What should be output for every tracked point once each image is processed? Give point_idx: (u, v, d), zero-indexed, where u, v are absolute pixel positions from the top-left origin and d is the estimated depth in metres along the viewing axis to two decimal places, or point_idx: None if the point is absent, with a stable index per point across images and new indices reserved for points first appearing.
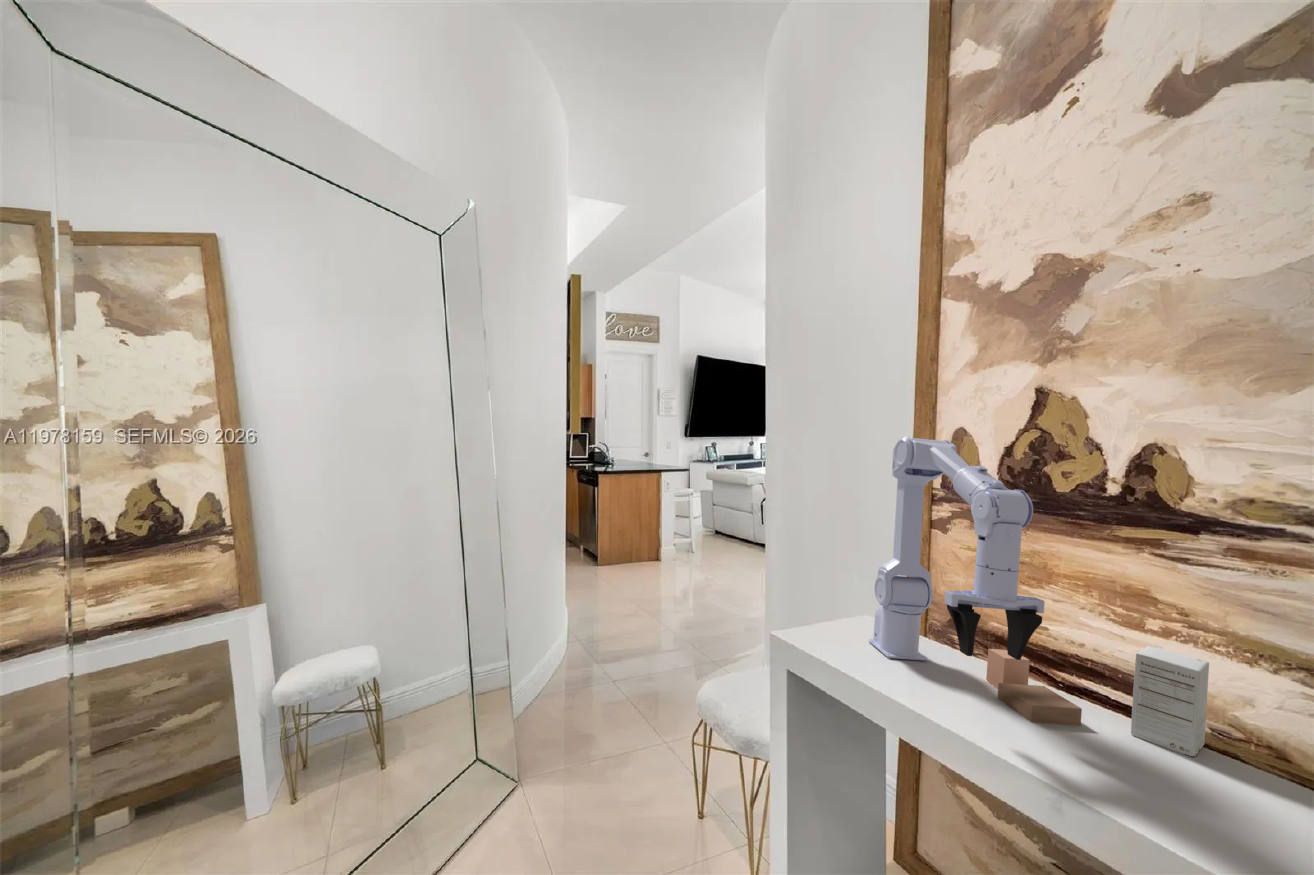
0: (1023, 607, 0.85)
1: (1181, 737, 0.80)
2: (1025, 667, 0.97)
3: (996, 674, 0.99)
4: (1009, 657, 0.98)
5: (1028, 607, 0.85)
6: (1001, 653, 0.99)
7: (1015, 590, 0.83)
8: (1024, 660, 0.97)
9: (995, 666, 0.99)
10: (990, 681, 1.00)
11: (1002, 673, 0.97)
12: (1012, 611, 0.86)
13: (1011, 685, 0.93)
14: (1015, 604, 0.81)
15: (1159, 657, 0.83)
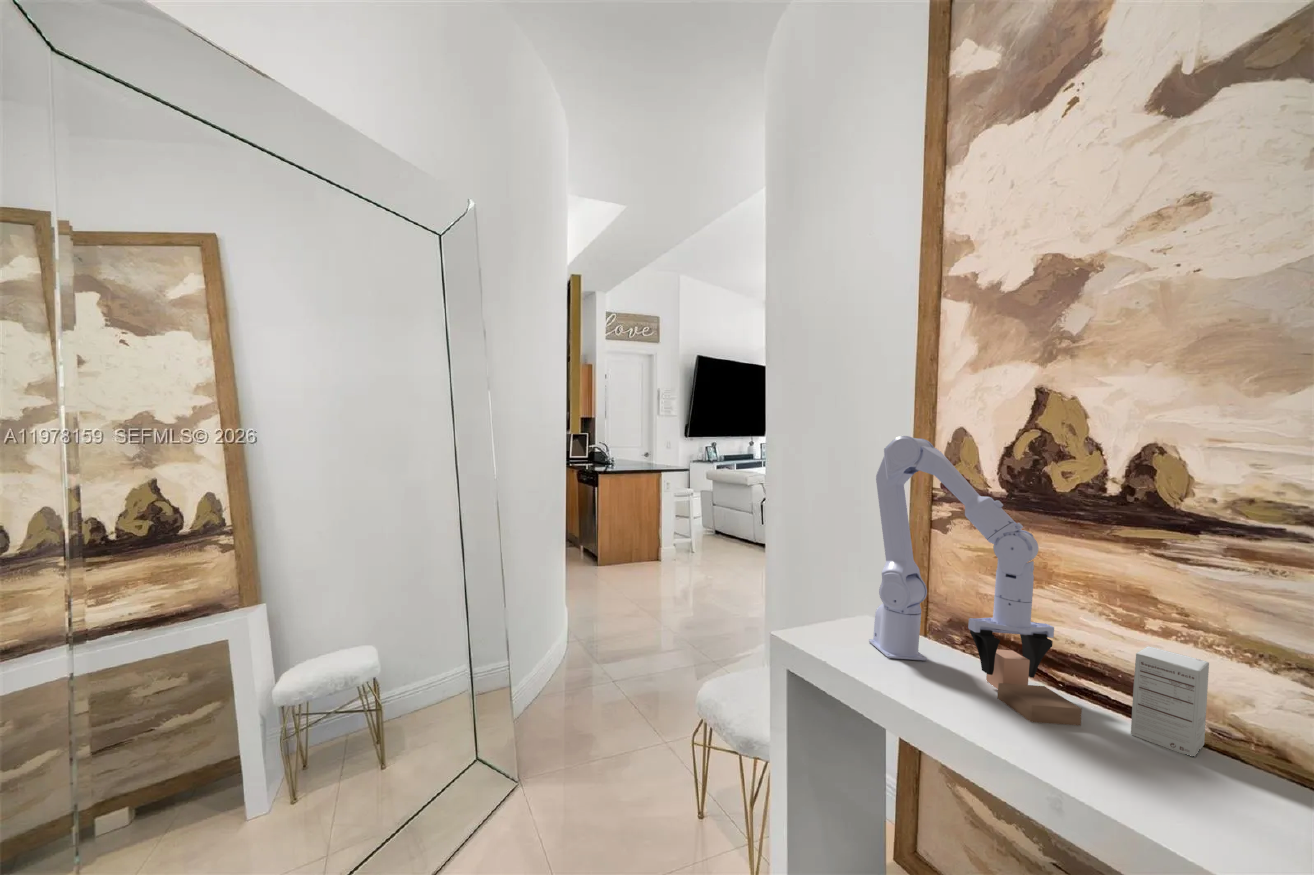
0: (1036, 632, 0.99)
1: (1181, 737, 0.80)
2: (1025, 667, 0.97)
3: (996, 674, 0.99)
4: (1009, 657, 0.98)
5: (1040, 632, 0.99)
6: (1001, 653, 0.99)
7: (1029, 618, 0.97)
8: (1024, 660, 0.97)
9: (995, 666, 0.99)
10: (990, 681, 1.00)
11: (1002, 673, 0.97)
12: (1026, 635, 1.00)
13: (1011, 685, 0.93)
14: (1029, 631, 0.95)
15: (1159, 657, 0.83)
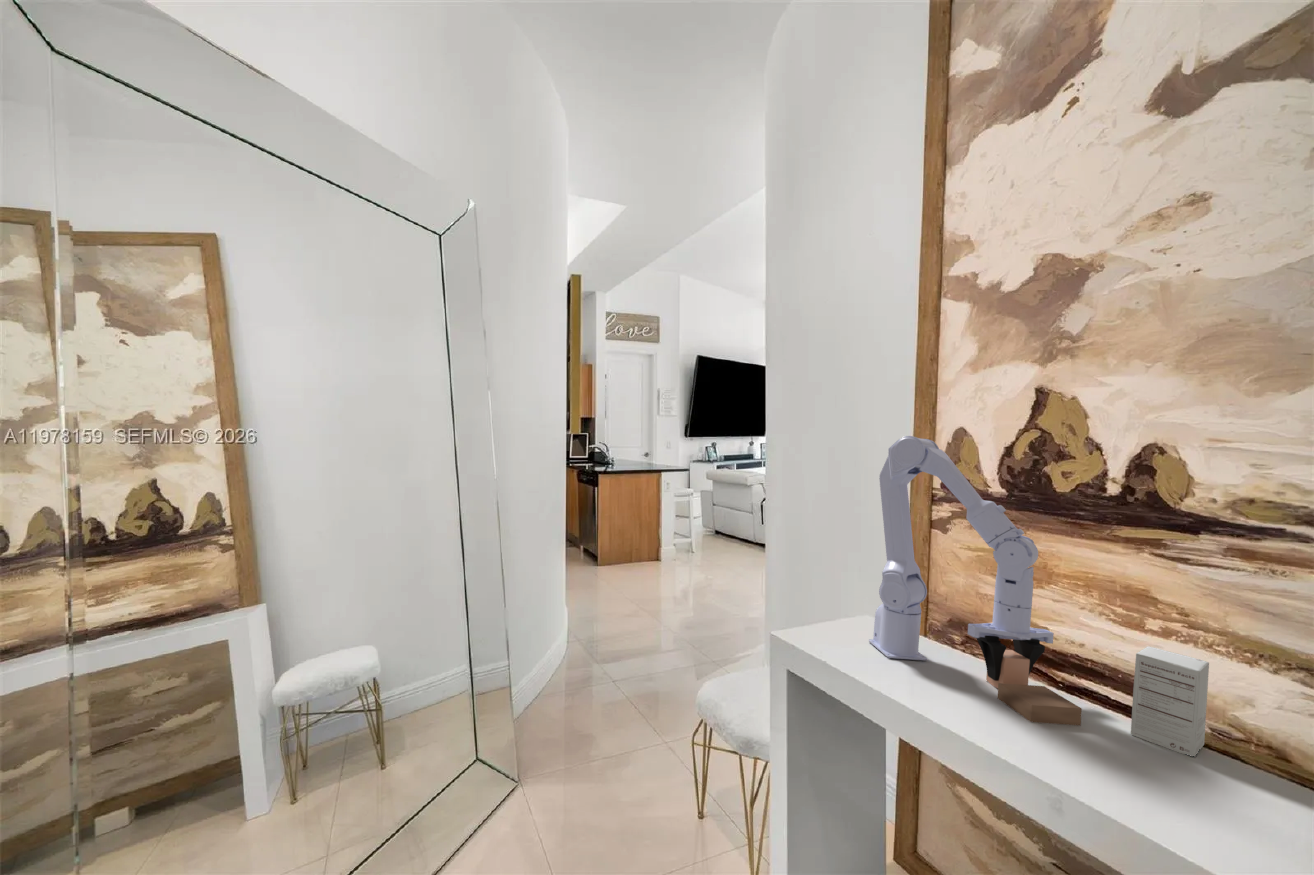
0: (1035, 638, 0.99)
1: (1181, 737, 0.80)
2: (1025, 667, 0.97)
3: None
4: (1009, 657, 0.98)
5: (1039, 638, 0.99)
6: None
7: (1028, 624, 0.97)
8: (1024, 660, 0.97)
9: None
10: (990, 681, 1.00)
11: (1002, 673, 0.97)
12: (1019, 640, 1.00)
13: (1011, 685, 0.93)
14: (1029, 637, 0.95)
15: (1159, 657, 0.83)
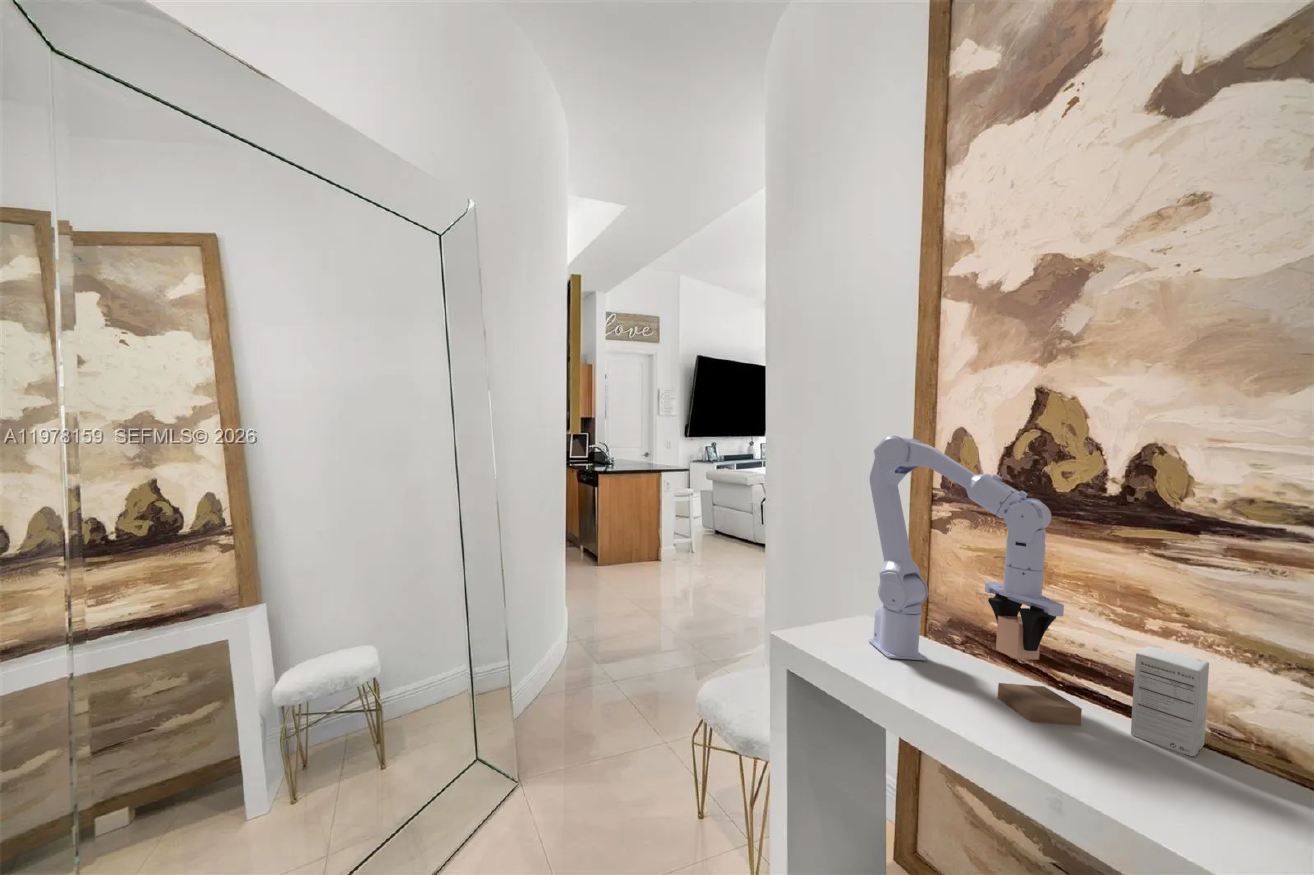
0: (1042, 608, 0.93)
1: (1181, 737, 0.80)
2: (1015, 630, 0.95)
3: None
4: (1006, 618, 0.98)
5: (1046, 609, 0.92)
6: (1014, 617, 0.98)
7: (1018, 585, 0.95)
8: (1014, 623, 0.96)
9: None
10: None
11: None
12: None
13: (1011, 685, 0.93)
14: (1004, 593, 0.96)
15: (1159, 657, 0.83)
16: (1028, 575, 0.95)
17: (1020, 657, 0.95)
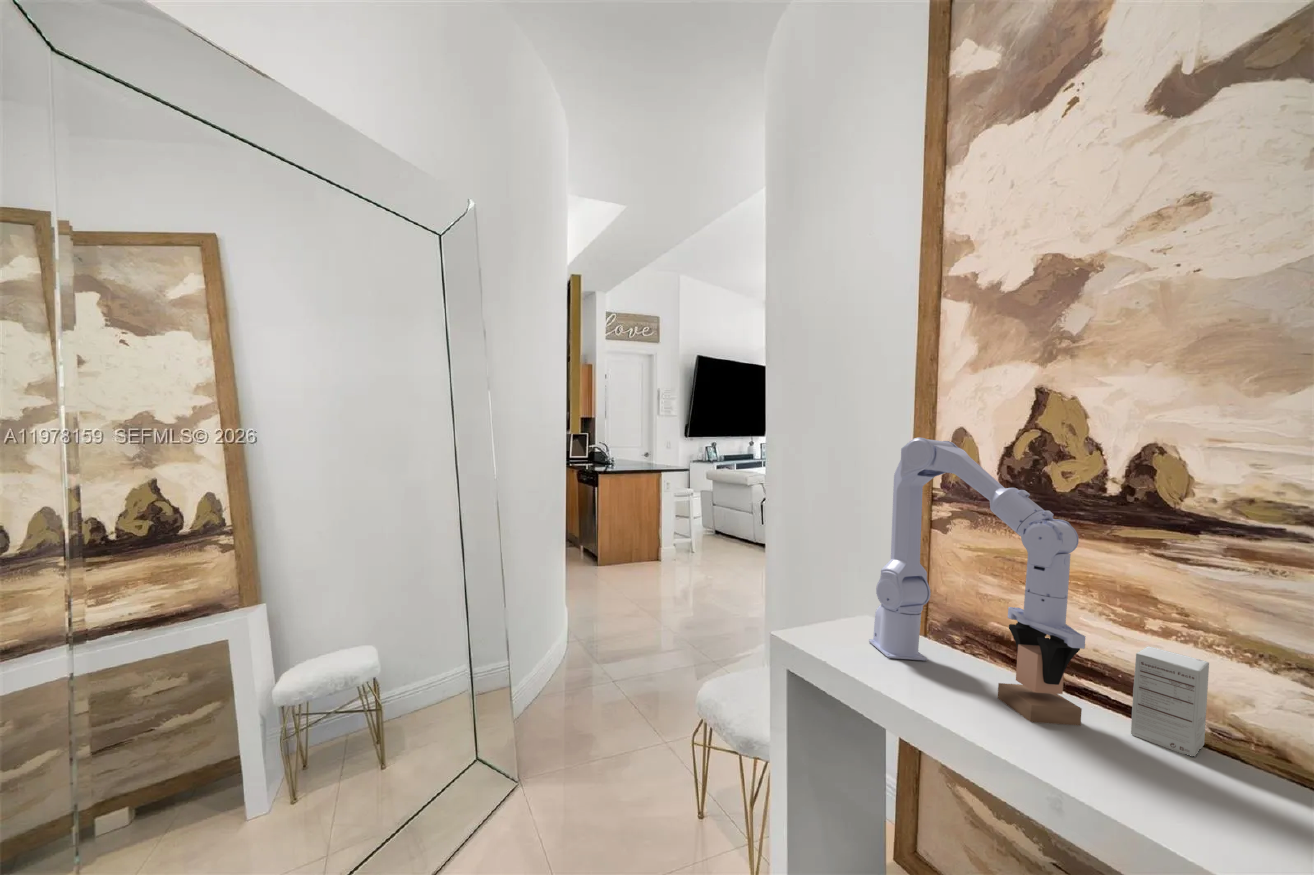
0: (1062, 638, 0.86)
1: (1181, 737, 0.80)
2: (1033, 661, 0.89)
3: None
4: (1026, 647, 0.91)
5: (1066, 639, 0.85)
6: (1036, 647, 0.92)
7: (1037, 612, 0.89)
8: (1033, 653, 0.89)
9: None
10: None
11: None
12: None
13: (1011, 685, 0.93)
14: (1022, 620, 0.90)
15: (1159, 657, 0.83)
16: (1048, 602, 0.88)
17: (1039, 690, 0.88)
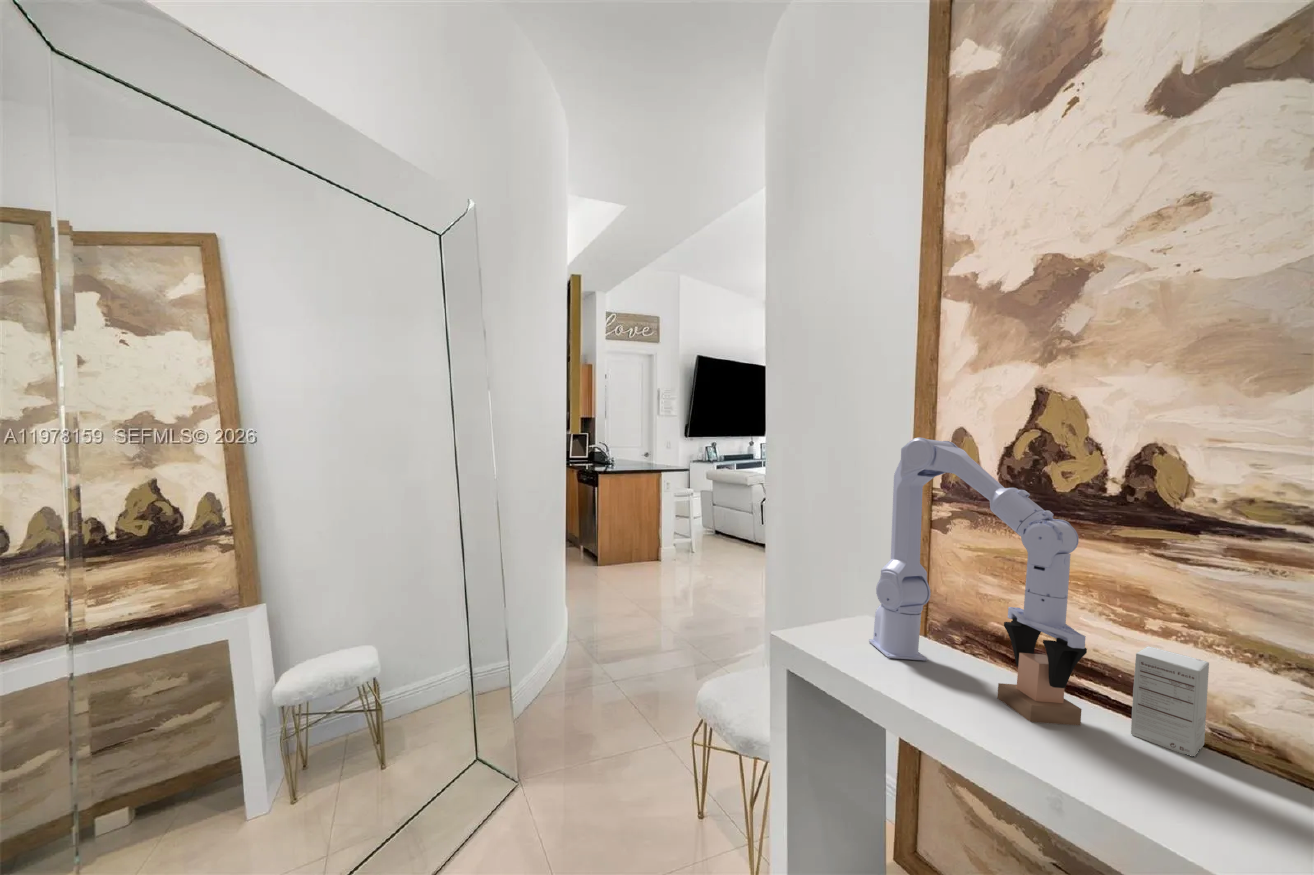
0: (1062, 638, 0.86)
1: (1181, 737, 0.80)
2: (1035, 670, 0.89)
3: None
4: (1027, 655, 0.91)
5: (1066, 639, 0.85)
6: (1037, 656, 0.91)
7: (1037, 612, 0.89)
8: (1034, 662, 0.89)
9: None
10: None
11: None
12: None
13: (1011, 685, 0.93)
14: (1022, 620, 0.90)
15: (1159, 657, 0.83)
16: (1048, 602, 0.88)
17: (1040, 699, 0.88)
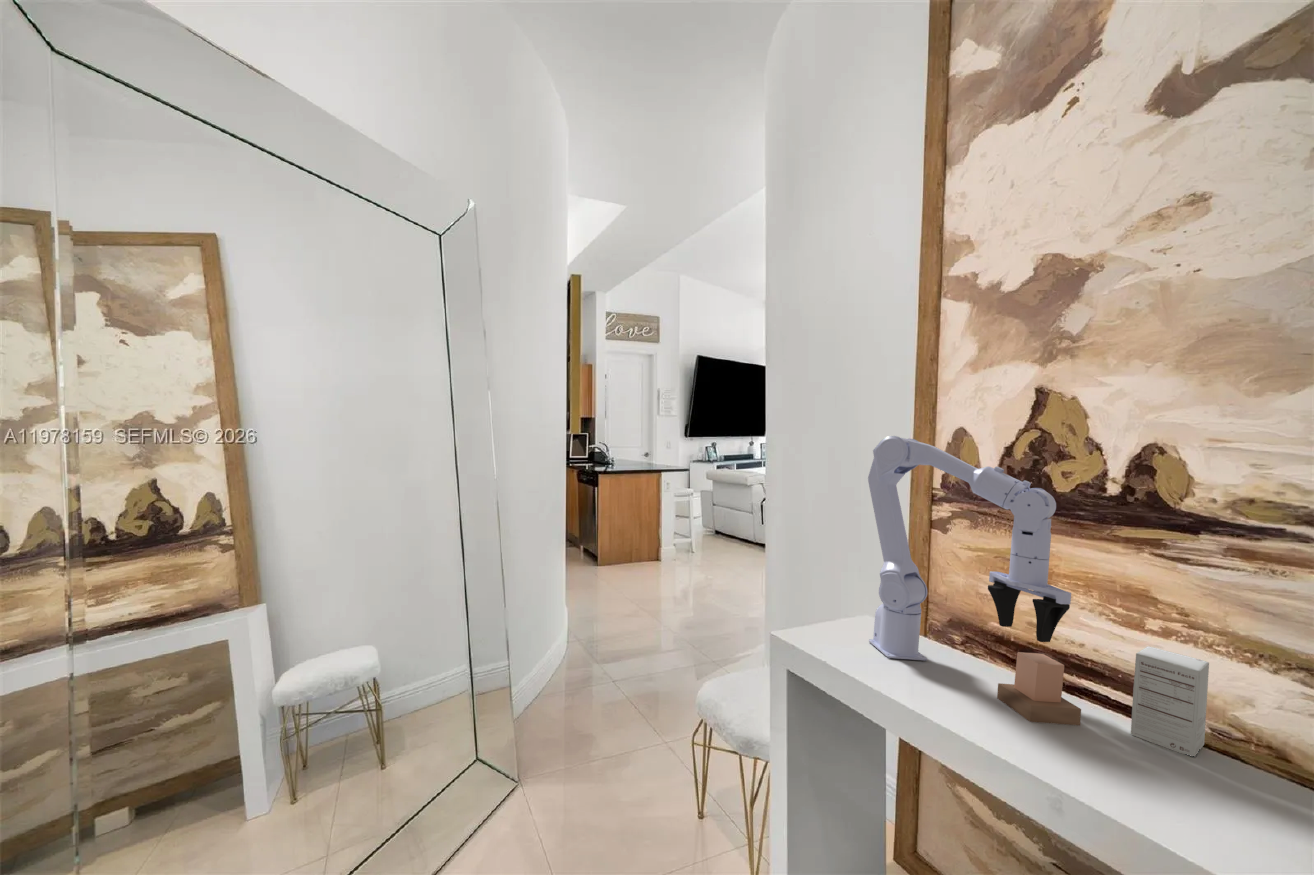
0: (1049, 596, 0.93)
1: (1181, 737, 0.80)
2: (1033, 670, 0.89)
3: None
4: (1025, 655, 0.91)
5: (1053, 597, 0.92)
6: (1035, 655, 0.92)
7: (1024, 574, 0.96)
8: (1033, 662, 0.89)
9: None
10: None
11: None
12: None
13: (1011, 686, 0.93)
14: (1011, 582, 0.96)
15: (1159, 657, 0.83)
16: (1035, 564, 0.95)
17: (1038, 699, 0.88)
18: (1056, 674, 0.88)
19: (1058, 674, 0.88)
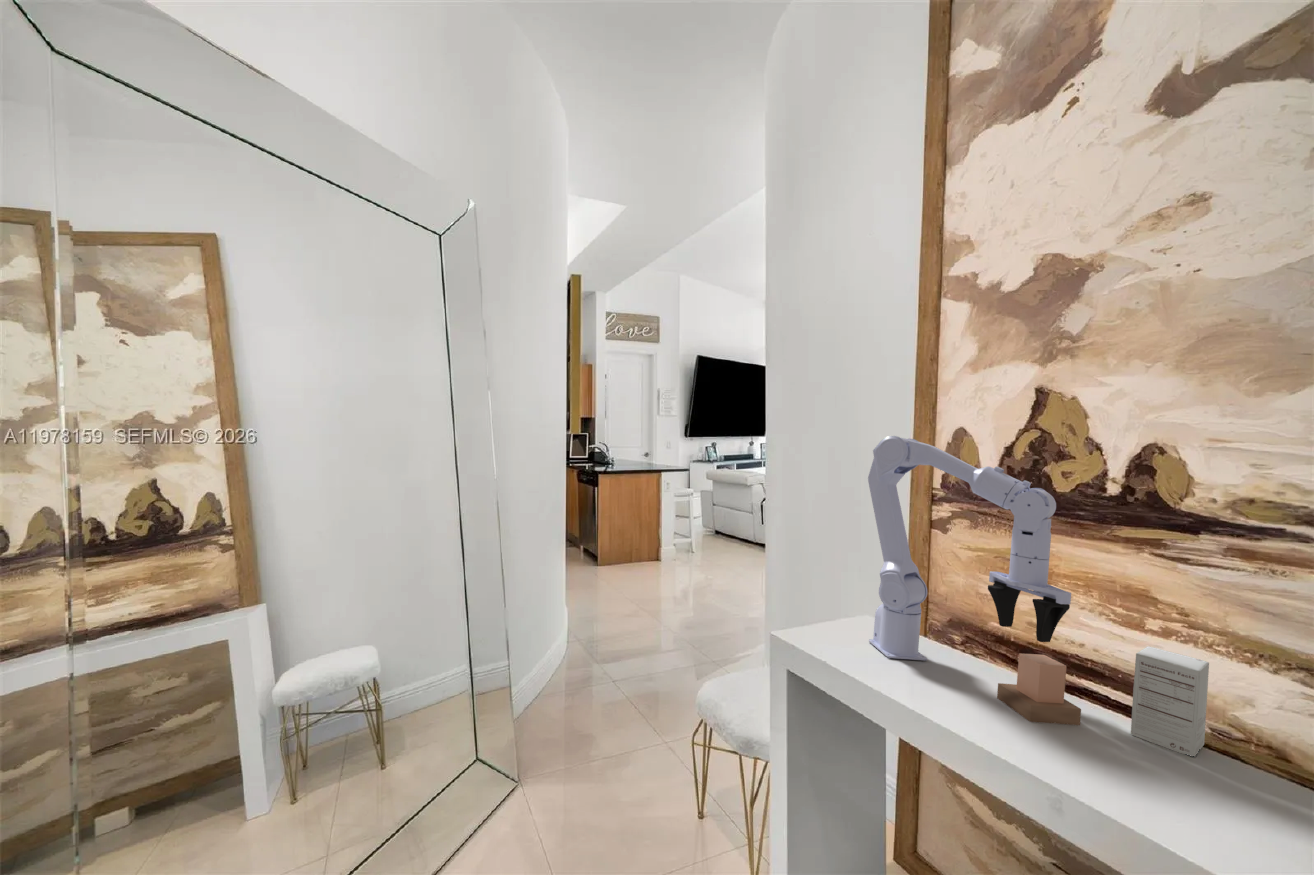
0: (1049, 596, 0.93)
1: (1181, 737, 0.80)
2: (1036, 671, 0.88)
3: None
4: (1027, 656, 0.91)
5: (1053, 597, 0.92)
6: (1037, 656, 0.91)
7: (1024, 574, 0.96)
8: (1035, 662, 0.89)
9: None
10: None
11: None
12: None
13: (1011, 685, 0.94)
14: (1011, 582, 0.96)
15: (1159, 657, 0.83)
16: (1035, 564, 0.95)
17: (1041, 700, 0.88)
18: (1058, 675, 0.88)
19: (1060, 674, 0.88)
